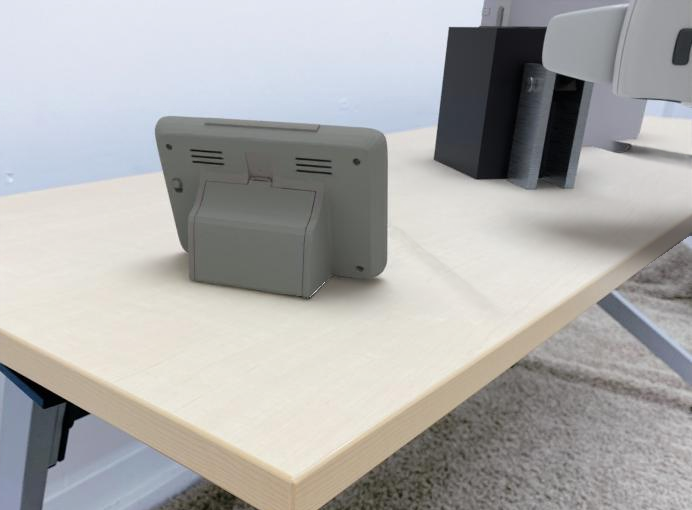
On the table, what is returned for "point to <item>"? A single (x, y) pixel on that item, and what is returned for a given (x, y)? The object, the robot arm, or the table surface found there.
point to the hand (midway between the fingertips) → (622, 40)
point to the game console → (605, 108)
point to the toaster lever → (563, 87)
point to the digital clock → (276, 200)
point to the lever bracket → (533, 130)
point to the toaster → (485, 97)
